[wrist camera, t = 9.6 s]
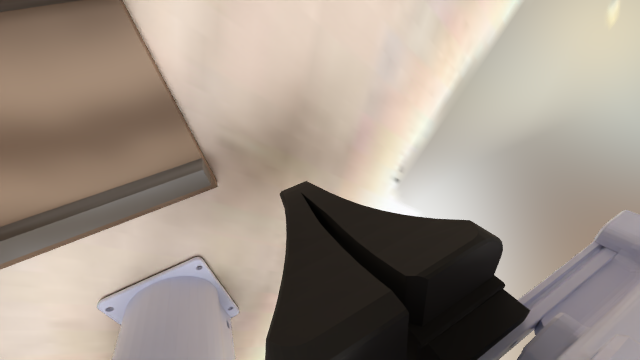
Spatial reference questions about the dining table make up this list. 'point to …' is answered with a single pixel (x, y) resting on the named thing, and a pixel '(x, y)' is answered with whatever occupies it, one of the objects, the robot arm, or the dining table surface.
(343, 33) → the dining table surface
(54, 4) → the bay
